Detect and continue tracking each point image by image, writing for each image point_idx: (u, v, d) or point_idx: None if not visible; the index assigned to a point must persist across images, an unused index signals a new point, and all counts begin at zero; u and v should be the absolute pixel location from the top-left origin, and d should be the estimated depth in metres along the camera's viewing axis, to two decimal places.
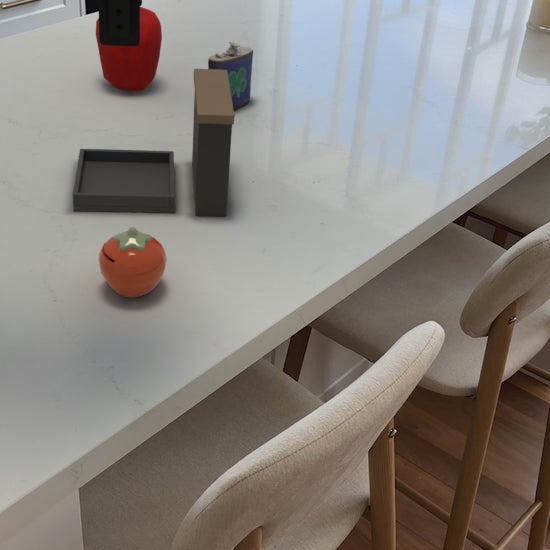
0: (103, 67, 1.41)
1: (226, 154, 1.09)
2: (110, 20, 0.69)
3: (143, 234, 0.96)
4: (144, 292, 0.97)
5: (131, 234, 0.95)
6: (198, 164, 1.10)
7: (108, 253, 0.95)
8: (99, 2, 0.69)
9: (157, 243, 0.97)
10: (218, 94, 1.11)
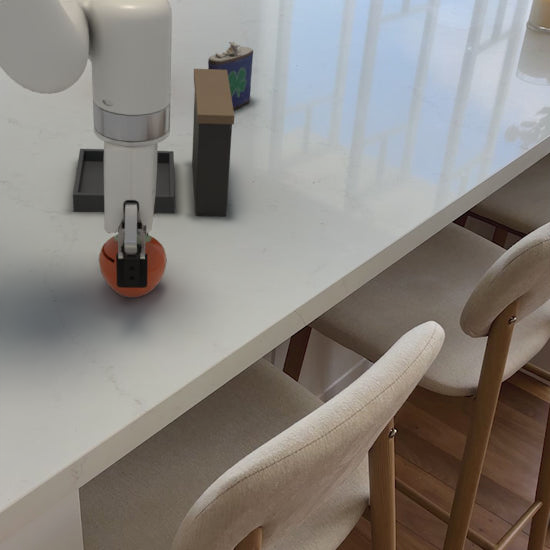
0: None
1: (226, 154, 1.09)
2: (125, 273, 0.92)
3: None
4: (144, 292, 0.97)
5: None
6: (198, 164, 1.10)
7: (108, 253, 0.95)
8: (117, 260, 0.92)
9: (157, 243, 0.97)
10: (218, 94, 1.11)
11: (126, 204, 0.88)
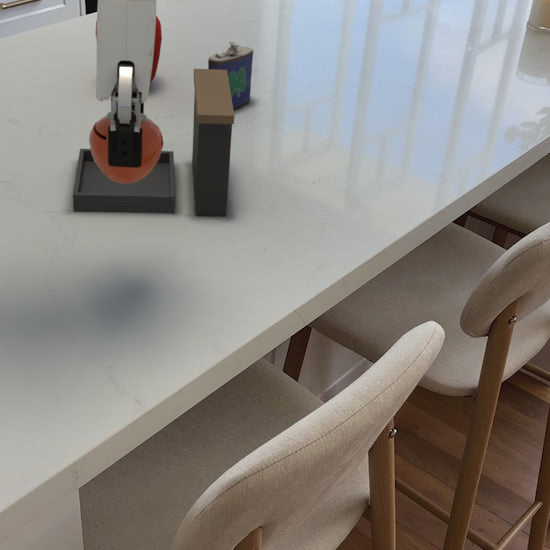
0: None
1: (226, 154, 1.09)
2: (117, 148, 0.84)
3: None
4: (138, 177, 0.89)
5: None
6: (198, 164, 1.10)
7: (100, 130, 0.87)
8: (109, 134, 0.84)
9: (153, 124, 0.89)
10: (218, 94, 1.11)
11: (120, 65, 0.80)
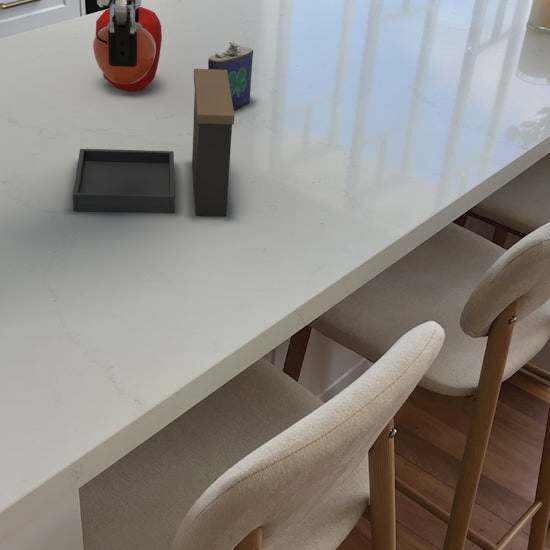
0: None
1: (226, 154, 1.09)
2: (116, 49, 1.00)
3: None
4: (135, 77, 1.05)
5: None
6: (198, 164, 1.10)
7: (101, 36, 1.03)
8: (109, 36, 1.00)
9: (147, 32, 1.05)
10: (218, 94, 1.11)
11: None
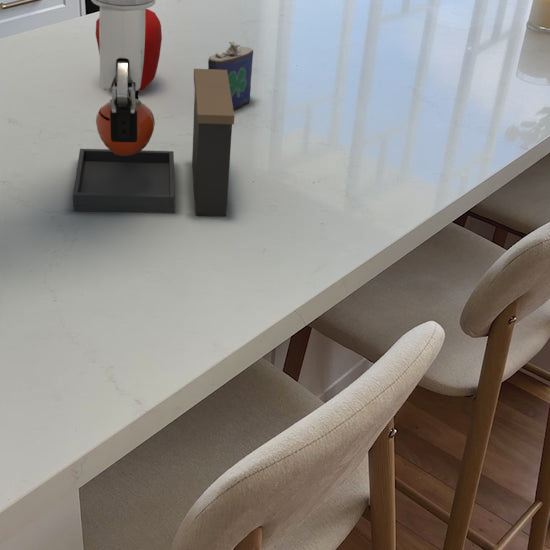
0: None
1: (226, 154, 1.09)
2: (118, 127, 1.08)
3: None
4: (135, 150, 1.13)
5: None
6: (198, 164, 1.10)
7: (104, 113, 1.10)
8: (111, 116, 1.08)
9: (146, 107, 1.13)
10: (218, 94, 1.11)
11: (118, 62, 1.03)
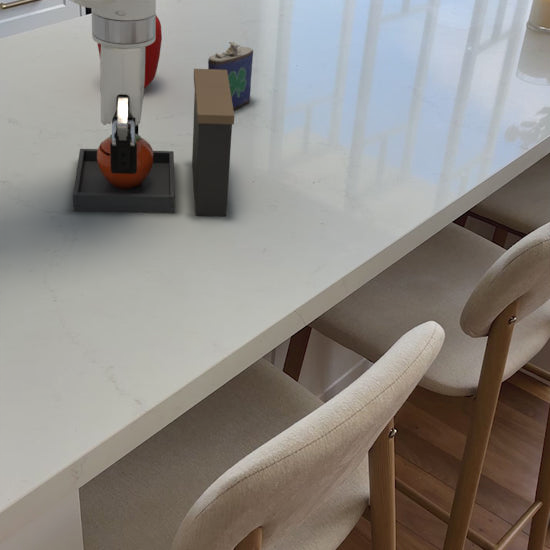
0: None
1: (226, 154, 1.09)
2: (118, 159, 1.09)
3: None
4: (135, 183, 1.15)
5: None
6: (198, 164, 1.10)
7: (104, 148, 1.13)
8: (111, 148, 1.09)
9: (146, 142, 1.15)
10: (218, 94, 1.11)
11: None
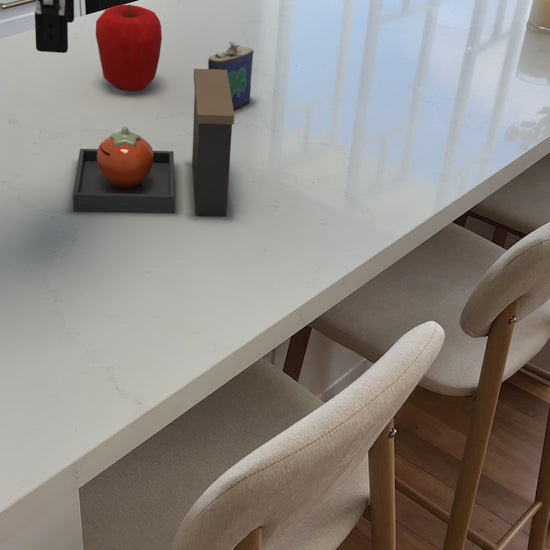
0: (103, 67, 1.41)
1: (226, 154, 1.09)
2: (44, 32, 0.90)
3: (134, 134, 1.14)
4: (135, 183, 1.15)
5: (123, 132, 1.13)
6: (198, 164, 1.10)
7: (104, 148, 1.13)
8: (35, 18, 0.90)
9: (146, 142, 1.15)
10: (218, 94, 1.11)
11: None
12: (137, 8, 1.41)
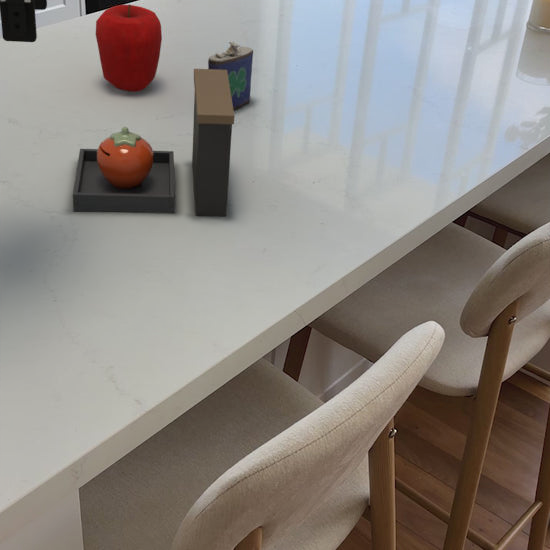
0: (103, 67, 1.41)
1: (226, 154, 1.09)
2: (9, 21, 0.85)
3: (134, 134, 1.14)
4: (135, 183, 1.15)
5: (123, 132, 1.13)
6: (198, 164, 1.10)
7: (104, 148, 1.13)
8: (0, 6, 0.85)
9: (146, 142, 1.15)
10: (218, 94, 1.11)
11: None
12: (137, 8, 1.41)
